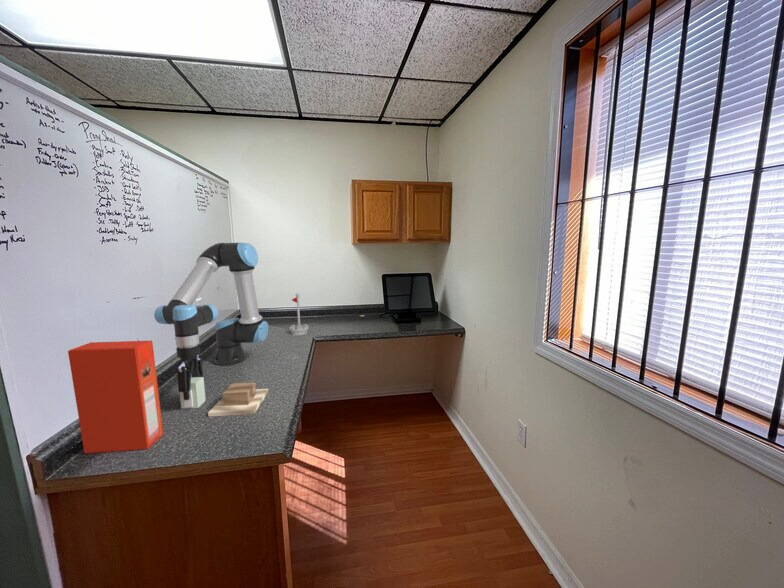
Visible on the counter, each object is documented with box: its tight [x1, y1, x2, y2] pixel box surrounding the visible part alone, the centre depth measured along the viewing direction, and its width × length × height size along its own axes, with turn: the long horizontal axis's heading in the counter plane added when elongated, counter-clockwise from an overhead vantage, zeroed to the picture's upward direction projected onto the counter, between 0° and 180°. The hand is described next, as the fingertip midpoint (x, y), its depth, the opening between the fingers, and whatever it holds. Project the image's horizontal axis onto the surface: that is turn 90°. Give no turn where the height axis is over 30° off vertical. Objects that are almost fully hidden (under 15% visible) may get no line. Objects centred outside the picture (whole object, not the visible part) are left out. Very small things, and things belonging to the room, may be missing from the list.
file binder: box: [67, 340, 164, 455], centre depth 93 cm, size 8×17×32 cm, turn 97°
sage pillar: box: [179, 376, 206, 410], centre depth 119 cm, size 6×6×10 cm
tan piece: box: [207, 381, 269, 417], centre depth 120 cm, size 18×16×6 cm
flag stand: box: [289, 292, 309, 336], centre depth 223 cm, size 13×13×30 cm
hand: (193, 402), depth 119 cm, fingers closed on sage pillar, 6 cm apart
